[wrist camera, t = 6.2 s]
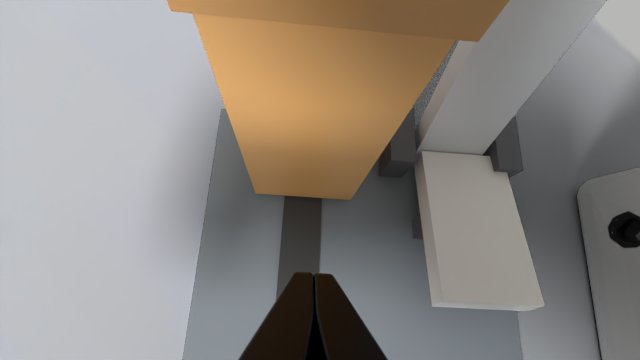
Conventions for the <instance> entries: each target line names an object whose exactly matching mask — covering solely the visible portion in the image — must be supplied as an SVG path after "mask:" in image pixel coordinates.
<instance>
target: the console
mask: <svg viewBox="0 0 640 360" xmlns="http://www.w3.org/2000/svg"><path fill="white" fill-rule="evenodd" d="M417 126H418V125H415V121H414V108H411V110H410V111H409V113H408V114H407V116H406V117H405V119H404V120H403V122H402V123H401V125H400V126H399V128H398V129H397V131H396V132H395V134H394V135H393V137H392V138H391V140H390V141H389V143H388V144H387V146H386V147H385V149H384V150H383V152H382V153H381V155H380V156H379V158H378V159H377V161H376V162H375V164H374V165H373V167H372V168H371V170H370V171H369V173H368V174H367V176H366V177H365V179H364V180H363V182H362V184H361V185H360V187H359V188H358V190H357V191H356V193H355V194H354V196H353V197H352V199H351V200H342V199H328V198H313V197H299V196H284V195H269V194H256V193H255V191H254V188H253V185H252V182H251V179H250V176H249V173H248V170H247V168H246V165H245V162H244V159H243V156H242V153H241V150H240V148H239V145H238V142H237V139H236V136H235V133H234V130H233V128H232V125H231V122H230V119H229V116H228V113H227V110H226V109H221V115H220V121H219V128H218V134H217V140H216V147H215V153H214V160H213V166H212V172H211V179H210V185H209V192H208V198H207V205H206V211H205V217H204V224H203V230H202V237H201V243H200V250H199V256H198V262H197V269H196V275H195V282H194V288H193V294H192V301H191V307H190V314H189V320H188V327H187V333H186V339H185V346H184V352H183V359H182V360H238V359H239V357H240V355H241V354H242V352H243V351H244V349H245V348H246V346H247V345H248V343H249V342H250V340H251V338H252V337H253V335H254V334H255V332H256V331H257V329H258V328H259V326H260V325H261V323H262V322H263V320H264V318H265V317H266V315H267V314H268V312H269V311H270V309H271V308H272V306H273V305H274V303H275V302H276V300H277V298H278V297H279V295H280V294H281V292H282V291H283V289H284V288H285V286H286V285H287V283H288V281H289V280H290V278H291V277H292V275H293V274H294V273H295V272H310V273H312V274H313V276H314V274H315V273H327V274H332V275H333V276H334V277H335V279H336V281H337V282H338V284H339V285H340V287H341V288H342V290H343V291H344V293H345V294H346V296H347V297H348V299H349V300H350V302H351V303H352V305H353V307H354V308H355V310H356V311H357V313H358V314H359V316H360V317H361V319H362V320H363V322H364V323H365V325H366V326H367V328H368V330H369V331H370V333H371V334H372V336H373V337H374V339H375V340H376V342H377V343H378V345H379V346H380V348H381V349H382V351H383V353H384V354H385V356H386V357H387V359H388V360H523V357H522V349H521V341H520V333H519V325H518V317H517V311H512V310H492V309H471V308H451V307H432V302H431V294H430V286H429V279H428V271H427V263H426V255H425V247H424V240H423V232H422V224H421V216H420V208H419V201H418V193H417V185H416V177H415V170H414V164H415V163H416V159H417V158H418V156H419V154H416V144H415V130H416V128H417ZM482 156H490V158H491V162H492V166H493V169H494V171H495V172H507V175H508V178H509V177H511V176H513V175H515V174H517V173H519V172H521V171H523V165H522V158H521V151H520V144H519V137H518V130H517V124H516V117H513V118H512V119H511V120H510V121H509V123H508V124H507V125H506V126H505V127H504V129H503V130H502V131H501V132H500V134H499V135H498V136H497V137H496V139H495V140H494V141H493V142H492V144H491V145H490V146H489V147H488V149H487V150H486V151H485V152H484V153H483V155H482Z"/></svg>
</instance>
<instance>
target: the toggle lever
mask: <svg viewBox="0 0 640 360" xmlns="http://www.w3.org/2000/svg"><path fill="white" fill-rule="evenodd" d="M606 1H607V0H510V1H509V2H508V3H507V5H506V6H505V7H504V9H503V10H502V11H501V13H500V14H499V15H498V17H497V18H496V19H495V20H494V22H493V23H492V24H491V26H490V27H489V28H488V30H487V31H486V32H485V34H484V35H483V36H482V38H481V39H480V40H479V42H472V41H462V40H459V42H458V44H457V46H456V48H455V50H454V52H453V54H452V56H451V58H450V60H449V62H448V64H447V66H446V68H445V70H444V73H443V75H442V77H441V79H440V81H439V83H438V85H437V87H436V89H435V91H434V93H433V95H432V97H431V99H430V101H429V103H428V105H427V107H426V109H425V111H424V113H423V115H422V117H421V120H420V122H419V124H418V126H417V128H416V130H415V144H416V154H420V153H421V151H431V152H443V153H456V154H469V155H481V156H482V155H483V153H484V152H485V151H486V150H487V149H488V147H489V146H490V145H491V144H492V142H493V141H494V140H495V139H496V137H497V136H498V135H499V134H500V132H501V131H502V130H503V129H504V127H505V126H506V125H507V124H508V123H509V121H510V120H511V119H512V118H513V116H514V115H515V114H516V113H517V111H518V110H519V109H520V108H521V106H522V105H523V104H524V103H525V102H526V100H527V99H528V98H529V97H530V95H531V94H532V93H533V92H534V90H535V89H536V88H537V87H538V85H539V84H540V83H541V82H542V80H543V79H544V78H545V77H546V76H547V74H548V73H549V72H550V71H551V69H552V68H553V67H554V66H555V64H556V63H557V62H558V61H559V59H560V58H561V57H562V56H563V54H564V53H565V52H566V51H567V50H568V48H569V47H570V46H571V45H572V43H573V42H574V41H575V40H576V38H577V37H578V36H579V35H580V33H581V32H582V31H583V30H584V29H585V27H586V26H587V25H588V24H589V22H590V21H591V20H592V19H593V17H594V16H595V15H596V14H597V12H598V11H599V10H600V9H601V7H602V6H603V5H604V4H605V2H606Z"/></svg>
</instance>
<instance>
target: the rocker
mask: <svg viewBox="0 0 640 360" xmlns="http://www.w3.org/2000/svg"><path fill="white" fill-rule="evenodd" d="M414 170H415V177H416V185H417V193H418V201H419V208H420V216H421V224H422V232H423V240H424V247H425V255H426V263H427V271H428V279H429V286H430V294H431V302H432V307H451V308H471V309H492V310H512V311H530V310H533V309H537V308H540V307H544V306H545V304H544V300H543V297H542V293H541V290H540V286H539V283H538V279H537V276H536V272H535V269H534V265H533V262H532V258H531V255H530V251H529V248H528V244H527V241H526V237H525V234H524V230H523V227H522V223H521V220H520V216H519V213H518V209H517V206H516V202H515V199H514V195H513V192H512V188H511V185H510V181H509V178H508V175H507V172H495V171H494V169H493V166H492V162H491V158H490V156H481V155H469V154H456V153H443V152H431V151H421V153H420V154H419V156H418V158H417V159H416V163H415V164H414Z"/></svg>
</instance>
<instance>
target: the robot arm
mask: <svg viewBox="0 0 640 360" xmlns="http://www.w3.org/2000/svg"><path fill="white" fill-rule="evenodd" d="M238 360H388V359H387V357H386V356H385V354H384V353H383V351H382V349H381V348H380V346H379V345H378V343H377V342H376V340H375V339H374V337H373V336H372V334H371V333H370V331H369V330H368V328H367V326H366V325H365V323H364V322H363V320H362V319H361V317H360V316H359V314H358V313H357V311H356V310H355V308H354V307H353V305H352V303H351V302H350V300H349V299H348V297H347V296H346V294H345V293H344V291H343V290H342V288H341V287H340V285H339V284H338V282H337V281H336V279H335V277H334V276H333V275H332V274H327V273H315V274H314V276H313V274H312V273H310V272H295V273H294V274H293V275H292V277H291V278H290V280H289V281H288V283H287V285H286V286H285V288H284V289H283V291H282V292H281V294H280V295H279V297H278V298H277V300H276V302H275V303H274V305H273V306H272V308H271V309H270V311H269V312H268V314H267V315H266V317H265V318H264V320H263V322H262V323H261V325H260V326H259V328H258V329H257V331H256V332H255V334H254V335H253V337H252V338H251V340H250V342H249V343H248V345H247V346H246V348H245V349H244V351H243V352H242V354H241V355H240V357H239V359H238Z"/></svg>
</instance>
